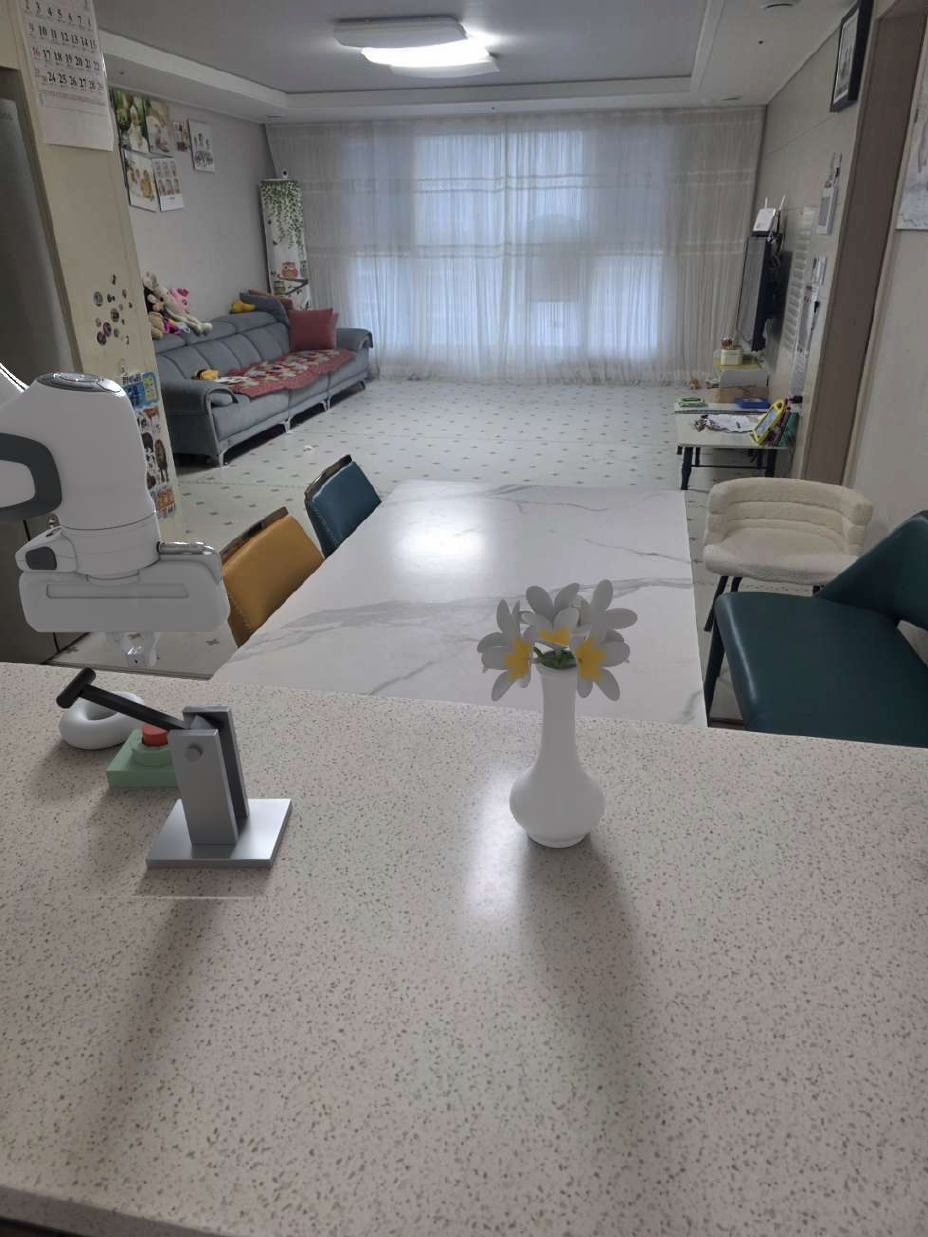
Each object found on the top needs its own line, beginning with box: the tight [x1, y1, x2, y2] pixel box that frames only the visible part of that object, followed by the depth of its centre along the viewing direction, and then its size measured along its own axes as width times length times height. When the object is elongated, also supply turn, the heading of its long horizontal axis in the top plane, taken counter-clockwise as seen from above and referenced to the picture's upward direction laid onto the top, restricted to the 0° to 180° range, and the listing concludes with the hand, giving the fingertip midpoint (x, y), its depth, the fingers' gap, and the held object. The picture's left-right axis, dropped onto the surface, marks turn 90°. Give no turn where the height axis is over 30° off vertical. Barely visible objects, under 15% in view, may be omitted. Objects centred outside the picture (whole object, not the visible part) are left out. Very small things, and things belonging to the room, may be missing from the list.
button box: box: [105, 728, 178, 788], centre depth 92 cm, size 10×8×4 cm
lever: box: [55, 667, 224, 738], centre depth 76 cm, size 14×5×2 cm, turn 89°
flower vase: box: [476, 578, 639, 849], centre depth 77 cm, size 13×18×25 cm
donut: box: [58, 690, 147, 750], centre depth 99 cm, size 10×4×10 cm
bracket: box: [144, 705, 294, 870], centre depth 79 cm, size 12×9×14 cm
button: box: [142, 723, 169, 747], centre depth 91 cm, size 4×4×2 cm
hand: (141, 664), depth 87 cm, fingers closed
